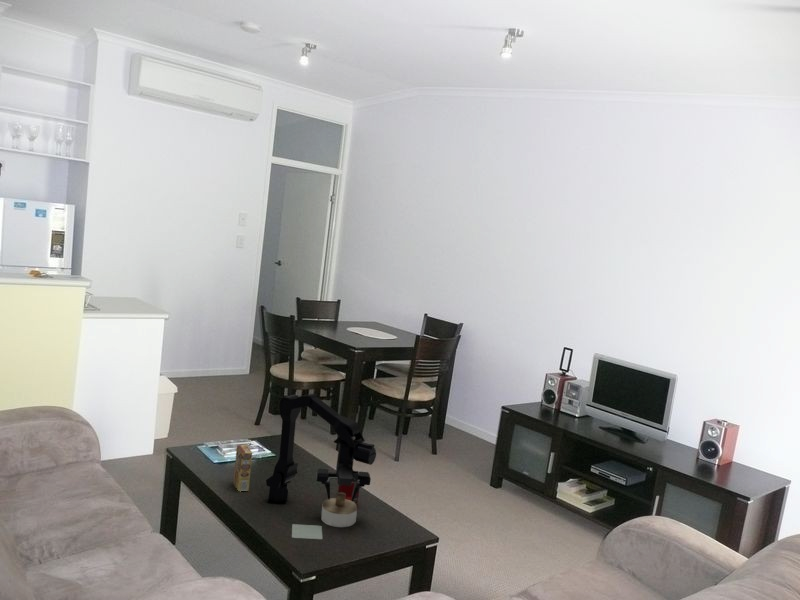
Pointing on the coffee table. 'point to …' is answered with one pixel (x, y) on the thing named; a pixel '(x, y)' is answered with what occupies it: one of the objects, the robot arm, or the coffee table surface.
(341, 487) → the canned food
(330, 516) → the bowl
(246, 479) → the candy box
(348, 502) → the lid
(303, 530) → the mat
